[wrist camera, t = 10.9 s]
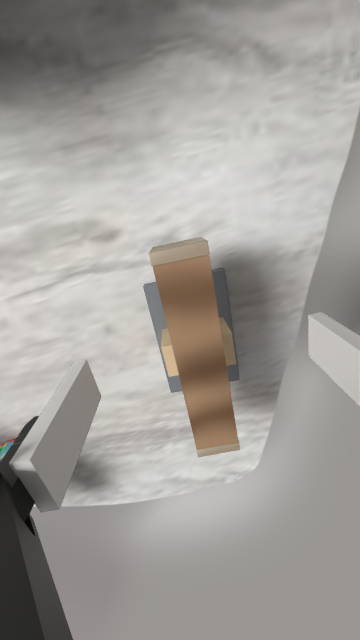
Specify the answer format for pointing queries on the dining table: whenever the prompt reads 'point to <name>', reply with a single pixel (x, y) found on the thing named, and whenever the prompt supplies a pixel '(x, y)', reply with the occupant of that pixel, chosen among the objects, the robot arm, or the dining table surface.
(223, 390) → the beam
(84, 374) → the robot arm
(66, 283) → the dining table surface
